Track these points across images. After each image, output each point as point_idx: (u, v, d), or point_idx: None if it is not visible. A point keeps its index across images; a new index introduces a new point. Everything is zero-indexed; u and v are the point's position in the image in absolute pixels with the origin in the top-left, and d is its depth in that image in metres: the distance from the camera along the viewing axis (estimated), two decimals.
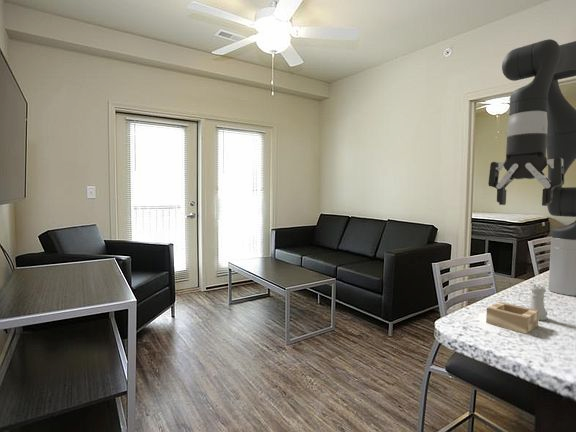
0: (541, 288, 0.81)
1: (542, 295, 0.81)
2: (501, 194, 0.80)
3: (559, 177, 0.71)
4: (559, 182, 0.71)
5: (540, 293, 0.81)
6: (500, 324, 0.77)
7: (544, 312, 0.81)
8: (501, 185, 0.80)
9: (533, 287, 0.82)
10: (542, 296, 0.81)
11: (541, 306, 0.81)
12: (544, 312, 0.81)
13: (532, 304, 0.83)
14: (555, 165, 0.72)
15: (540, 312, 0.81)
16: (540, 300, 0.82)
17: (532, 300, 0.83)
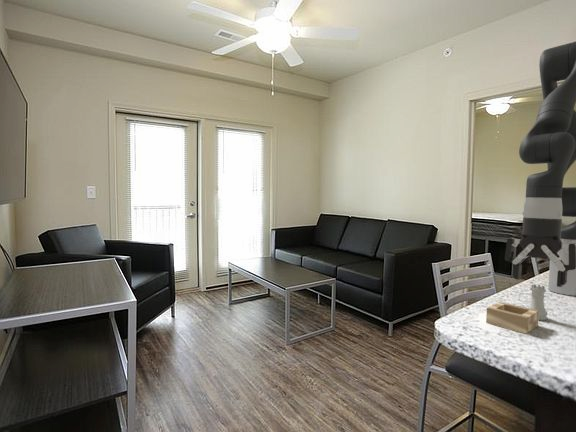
0: (541, 288, 0.81)
1: (542, 295, 0.81)
2: (517, 270, 0.85)
3: (574, 262, 0.76)
4: (573, 267, 0.76)
5: (540, 293, 0.81)
6: (500, 324, 0.77)
7: (544, 312, 0.81)
8: (517, 261, 0.85)
9: (533, 287, 0.82)
10: (542, 296, 0.81)
11: (541, 306, 0.81)
12: (544, 312, 0.81)
13: (532, 304, 0.83)
14: (570, 251, 0.76)
15: (540, 312, 0.81)
16: (540, 300, 0.82)
17: (532, 300, 0.83)
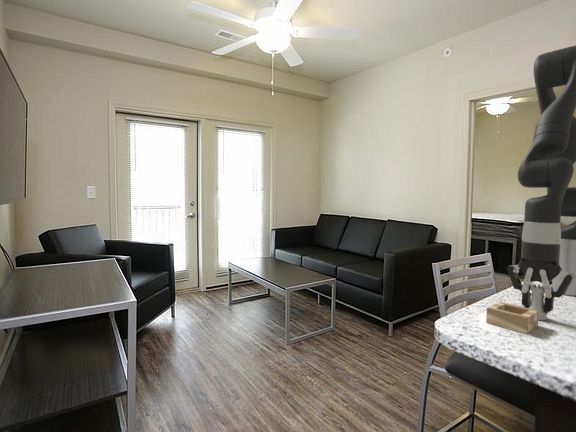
0: (541, 288, 0.81)
1: (542, 295, 0.81)
2: (526, 298, 0.84)
3: (562, 291, 0.78)
4: (559, 295, 0.78)
5: (540, 293, 0.81)
6: (500, 324, 0.77)
7: None
8: (526, 290, 0.83)
9: (533, 287, 0.82)
10: (542, 296, 0.81)
11: (541, 306, 0.81)
12: None
13: (532, 304, 0.83)
14: (564, 280, 0.77)
15: (540, 312, 0.81)
16: (540, 300, 0.82)
17: (532, 300, 0.83)
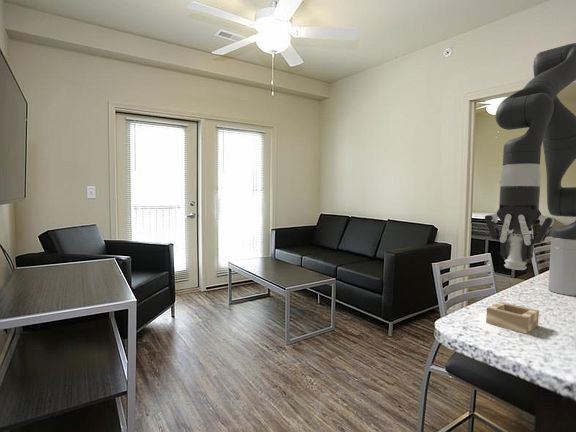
0: (520, 235, 0.76)
1: (521, 243, 0.76)
2: (505, 248, 0.78)
3: (541, 237, 0.73)
4: (538, 241, 0.73)
5: (519, 241, 0.76)
6: (500, 324, 0.77)
7: (523, 261, 0.76)
8: (505, 239, 0.78)
9: (512, 235, 0.77)
10: (521, 244, 0.76)
11: (520, 255, 0.76)
12: (523, 261, 0.76)
13: (510, 253, 0.77)
14: (544, 224, 0.72)
15: (519, 261, 0.76)
16: (519, 248, 0.76)
17: (511, 249, 0.77)
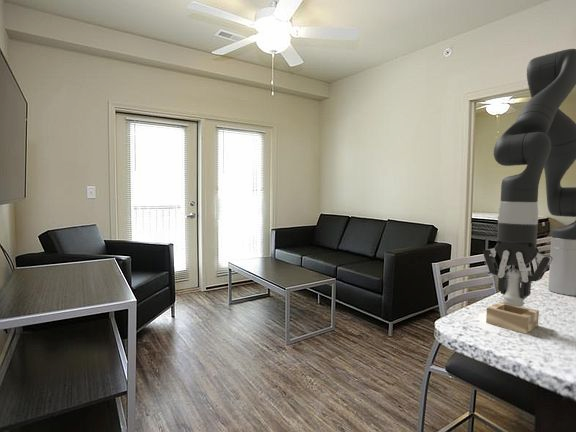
0: (518, 272, 0.76)
1: (519, 279, 0.77)
2: (502, 283, 0.79)
3: (538, 275, 0.73)
4: (536, 279, 0.73)
5: (517, 277, 0.76)
6: (500, 324, 0.77)
7: None
8: (503, 274, 0.79)
9: (509, 271, 0.78)
10: (519, 280, 0.77)
11: (518, 291, 0.77)
12: (521, 298, 0.76)
13: (508, 289, 0.78)
14: (541, 263, 0.73)
15: (516, 297, 0.76)
16: (517, 285, 0.77)
17: (508, 285, 0.78)
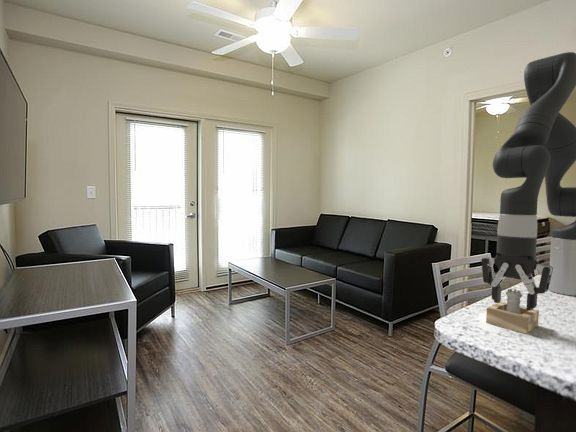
0: (517, 293, 0.77)
1: (518, 300, 0.77)
2: (496, 292, 0.80)
3: (544, 286, 0.72)
4: (543, 291, 0.72)
5: (516, 298, 0.77)
6: (500, 324, 0.77)
7: None
8: (496, 284, 0.80)
9: (509, 292, 0.78)
10: (518, 301, 0.77)
11: (517, 312, 0.77)
12: None
13: (507, 309, 0.78)
14: (543, 274, 0.72)
15: None
16: (516, 305, 0.77)
17: (508, 305, 0.78)
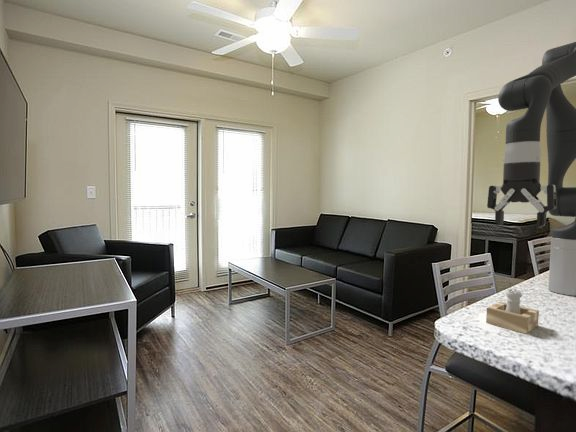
0: (517, 293, 0.77)
1: (518, 300, 0.77)
2: (499, 216, 0.87)
3: (552, 202, 0.78)
4: (552, 207, 0.78)
5: (516, 298, 0.77)
6: (500, 324, 0.77)
7: None
8: (499, 207, 0.87)
9: (508, 292, 0.78)
10: (518, 301, 0.77)
11: (517, 312, 0.77)
12: None
13: (507, 309, 0.78)
14: (548, 191, 0.79)
15: None
16: (516, 305, 0.77)
17: (508, 305, 0.78)
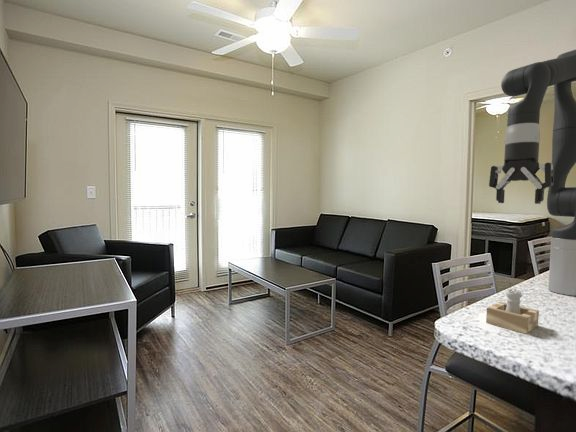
0: (517, 293, 0.77)
1: (518, 300, 0.77)
2: (500, 194, 0.93)
3: (549, 179, 0.84)
4: (549, 183, 0.84)
5: (516, 298, 0.77)
6: (500, 324, 0.77)
7: None
8: (500, 186, 0.93)
9: (509, 292, 0.78)
10: (518, 301, 0.77)
11: (517, 312, 0.77)
12: None
13: (507, 309, 0.78)
14: (546, 169, 0.85)
15: None
16: (516, 305, 0.77)
17: (508, 305, 0.78)
